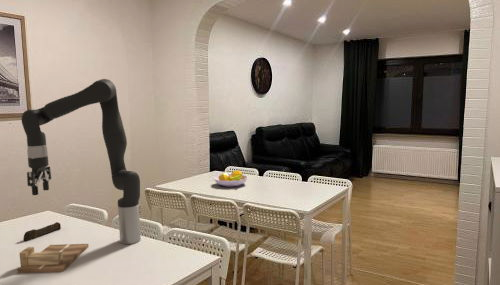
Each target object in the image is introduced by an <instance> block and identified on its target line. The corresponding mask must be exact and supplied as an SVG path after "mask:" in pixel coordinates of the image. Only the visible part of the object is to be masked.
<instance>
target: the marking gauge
mask: <svg viewBox="0 0 500 285" xmlns="http://www.w3.org/2000/svg"><path fill="white" fill-rule="evenodd" d="M62 260H63V254H62V252H41V251H39V252H36V251H35V246H28V247H26V248H24V249H23V250H22V251H19V261H20V262H19V264H20V267H21V266H28V265H54V264H59V263H60V262H61V261H62Z"/></svg>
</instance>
